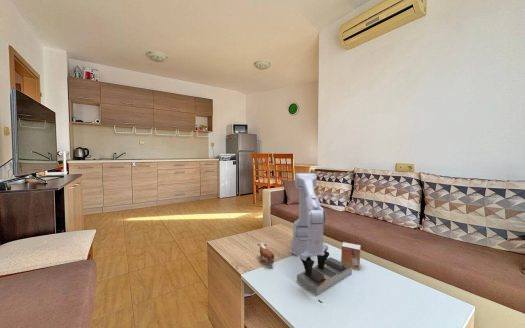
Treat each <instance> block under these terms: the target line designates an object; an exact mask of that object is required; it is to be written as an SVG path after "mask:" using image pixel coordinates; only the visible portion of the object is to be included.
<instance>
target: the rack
mask: <svg viewBox="0 0 525 328" xmlns="http://www.w3.org/2000/svg"><path fill="white" fill-rule="evenodd" d="M332 258H333V257H332ZM333 259H335V258H333ZM312 268H313V269H315V270H317V271H319V272H320V273H322V274H324V281H323V282H321V283H320V284H319V283H317V282H315V281H314V280H312V279H311V278H309V277H307V276H306V275H305V270H304V271H302V272H300V273H298V274H296V283H297V284H298V285H300V286H301V287H303V288H305V289H306V290H307V291H309V292H310V293H312V294H313V295H314V296H316V297H318V296H319V295H320V294H322V293H324V292H326V291H327V290H328V289H330V288H332V287H333V286H335V285H336V284H338V283H340V282H341V281H342V280H344V279H346V278H347V277H349V276H351V275H352V271H353V269H352V267H351V266H349V265H346V264H344V270H343V271H341V272H340V271H338V270H336V269H334V268H332V267H330V266H329V265H327V264H326V262H325V265H324V269H323V270H321V269H319V268H318V264H317V265H313V267H312Z"/></svg>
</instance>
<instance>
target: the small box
mask: <svg viewBox="0 0 525 328" xmlns="http://www.w3.org/2000/svg"><path fill="white" fill-rule="evenodd" d="M361 247H362V246H361V244H355V243H349V242H345V241H343V242H342V245H341V254H340V257H341V258H340V262H342V263H344V264H346V265H349V266H351V267H352V270H356V271H360V267H361Z"/></svg>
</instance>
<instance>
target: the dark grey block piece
mask: <svg viewBox="0 0 525 328" xmlns="http://www.w3.org/2000/svg"><path fill="white" fill-rule="evenodd" d="M305 275H306V272H305ZM306 276H307V277H309V276H308V275H306ZM309 278H311V279H312V280H314V281H315V282H317V283H319V284H320V283H321V282H323V281H324V274H322V273H320V272H319V271H317V270H315V269H313V268H312V274H311V276H310V277H309Z"/></svg>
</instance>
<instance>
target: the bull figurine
mask: <svg viewBox="0 0 525 328" xmlns="http://www.w3.org/2000/svg"><path fill="white" fill-rule="evenodd" d="M257 246H259V253H260V255H259V256H260V259H259V262H261V261H263V258H264V261H265V262H266V261H267V269H270V266H271V265H274V263H275V253H274V252H272V251H271V250H270V249H269V248H267V243H264V242H260V243H257Z"/></svg>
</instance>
